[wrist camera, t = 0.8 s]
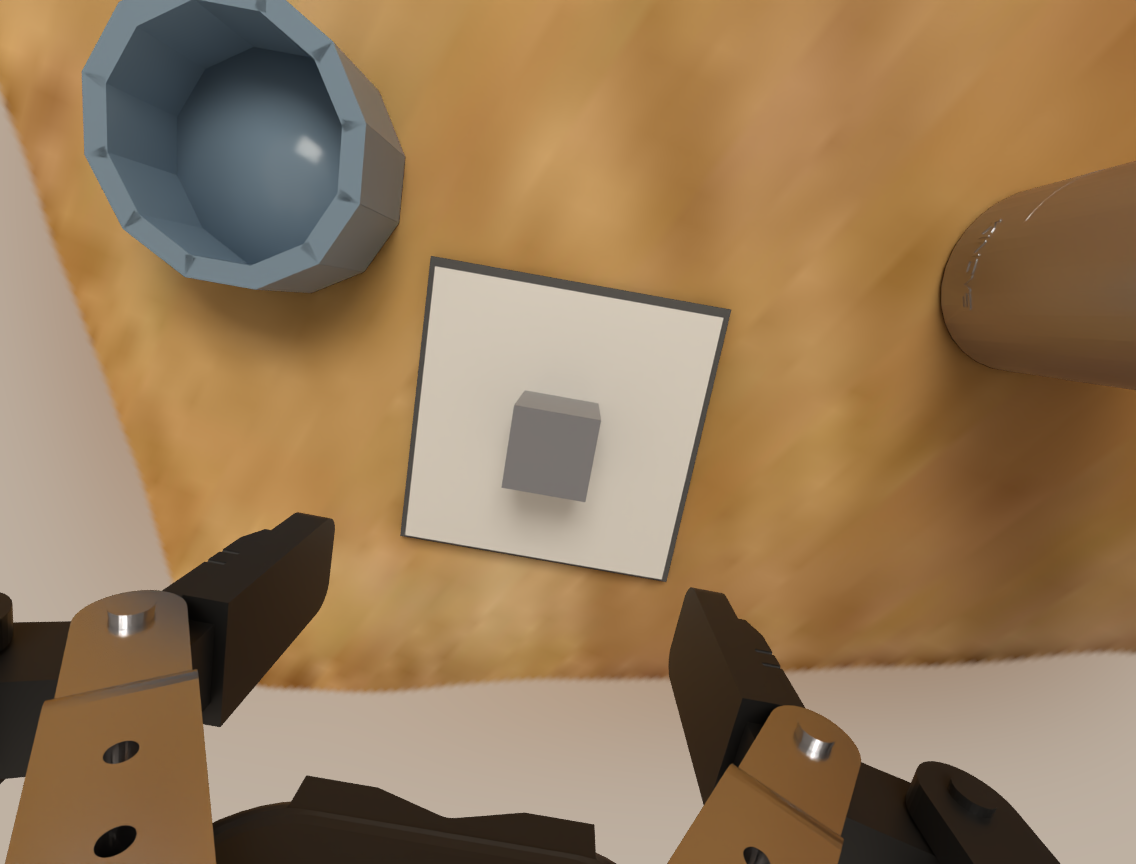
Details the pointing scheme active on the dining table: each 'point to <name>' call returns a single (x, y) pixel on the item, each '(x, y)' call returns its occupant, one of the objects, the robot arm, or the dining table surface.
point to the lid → (556, 422)
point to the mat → (584, 289)
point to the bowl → (240, 143)
